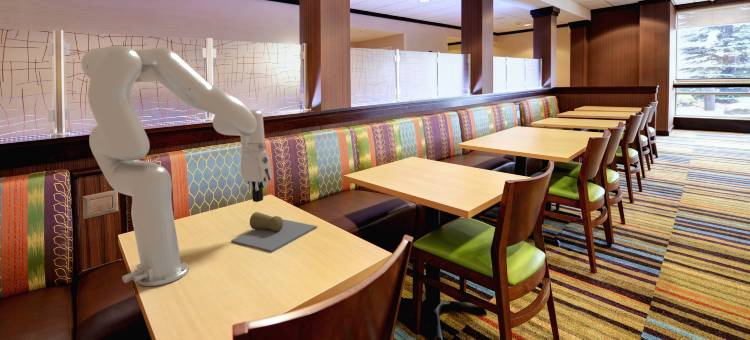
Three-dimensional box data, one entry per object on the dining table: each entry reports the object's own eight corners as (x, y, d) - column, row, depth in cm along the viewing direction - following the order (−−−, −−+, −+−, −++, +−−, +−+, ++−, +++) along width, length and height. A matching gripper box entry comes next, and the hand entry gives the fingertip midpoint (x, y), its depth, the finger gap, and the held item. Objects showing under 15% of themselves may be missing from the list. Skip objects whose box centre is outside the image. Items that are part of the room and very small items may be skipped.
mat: (271, 252, 121) (271, 250, 121) (231, 241, 130) (231, 240, 130) (317, 227, 139) (317, 226, 139) (278, 219, 148) (278, 218, 148)
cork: (249, 230, 137) (274, 235, 132) (249, 213, 137) (274, 217, 132) (262, 227, 143) (286, 231, 138) (262, 210, 142) (286, 214, 137)
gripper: (278, 147, 131) (282, 200, 135) (246, 144, 139) (251, 195, 143) (261, 150, 125) (266, 206, 129) (228, 148, 132) (234, 201, 136)
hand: (258, 200), depth 136 cm, fingers closed
